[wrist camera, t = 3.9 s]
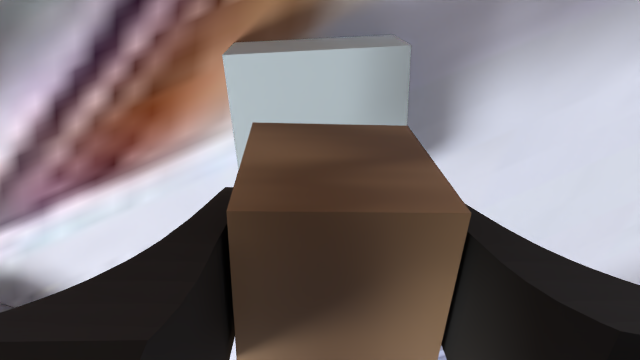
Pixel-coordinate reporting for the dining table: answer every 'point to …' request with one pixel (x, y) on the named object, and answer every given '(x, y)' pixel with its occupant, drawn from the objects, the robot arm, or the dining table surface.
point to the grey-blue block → (317, 82)
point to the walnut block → (341, 244)
